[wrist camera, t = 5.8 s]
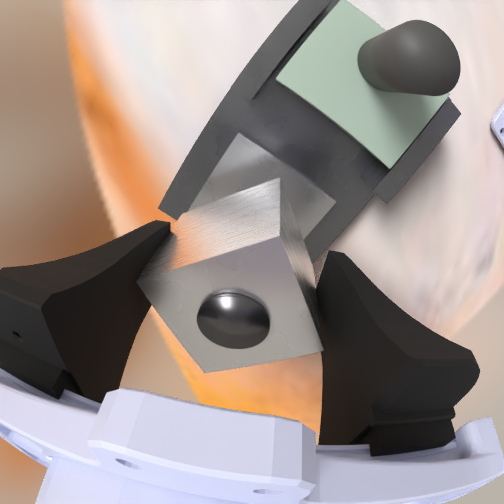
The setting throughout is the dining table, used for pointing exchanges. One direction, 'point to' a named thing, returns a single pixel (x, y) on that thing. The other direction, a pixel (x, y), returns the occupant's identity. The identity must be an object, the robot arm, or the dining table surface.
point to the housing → (237, 282)
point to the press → (292, 145)
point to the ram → (374, 77)
